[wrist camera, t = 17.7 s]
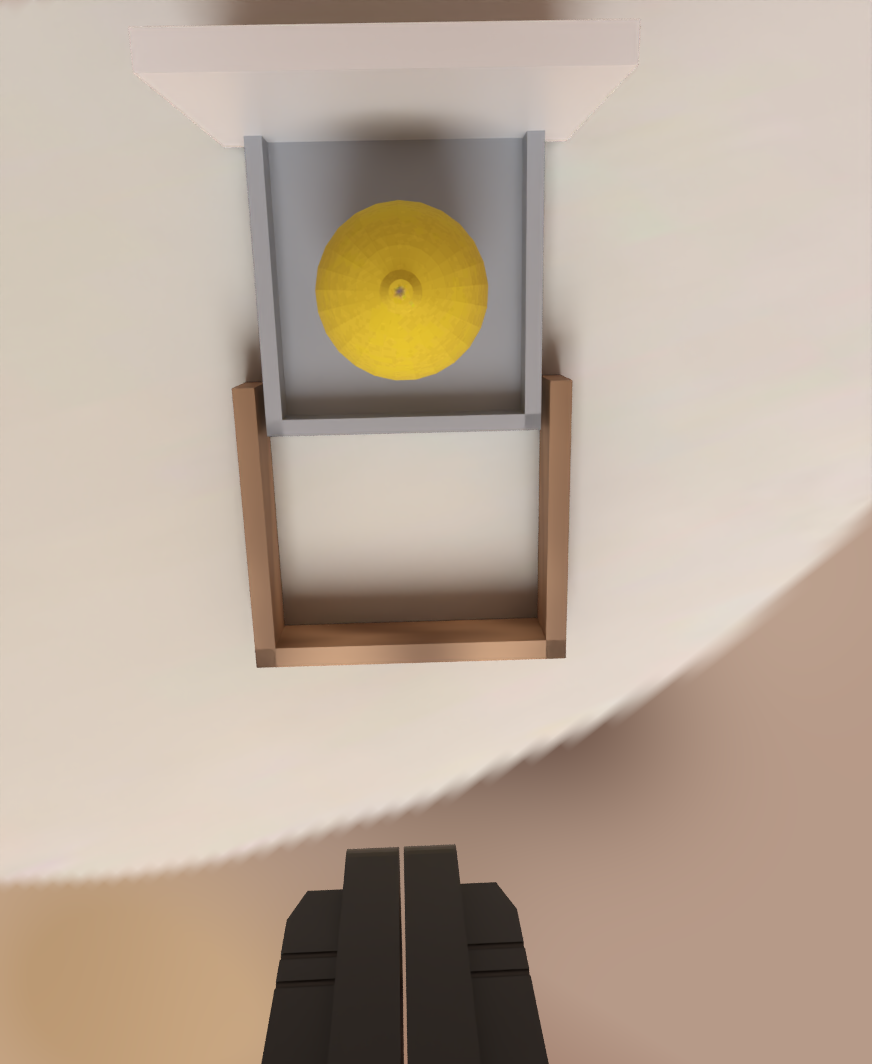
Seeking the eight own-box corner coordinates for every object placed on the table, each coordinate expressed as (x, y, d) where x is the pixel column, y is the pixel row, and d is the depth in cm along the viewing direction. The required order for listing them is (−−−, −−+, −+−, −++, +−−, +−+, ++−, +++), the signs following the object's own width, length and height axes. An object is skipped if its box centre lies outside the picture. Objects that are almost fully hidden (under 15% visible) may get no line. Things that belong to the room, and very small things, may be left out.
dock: (267, 643, 35) (256, 667, 32) (245, 382, 32) (232, 388, 29) (555, 634, 35) (565, 658, 33) (560, 375, 32) (572, 380, 30)
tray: (247, 429, 32) (178, 482, 23) (221, 116, 29) (128, 26, 19) (560, 421, 32) (621, 470, 23) (567, 110, 29) (640, 18, 20)
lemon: (408, 180, 29) (407, 136, 21) (508, 300, 30) (541, 301, 22) (296, 286, 30) (257, 283, 22) (397, 400, 31) (394, 433, 23)
